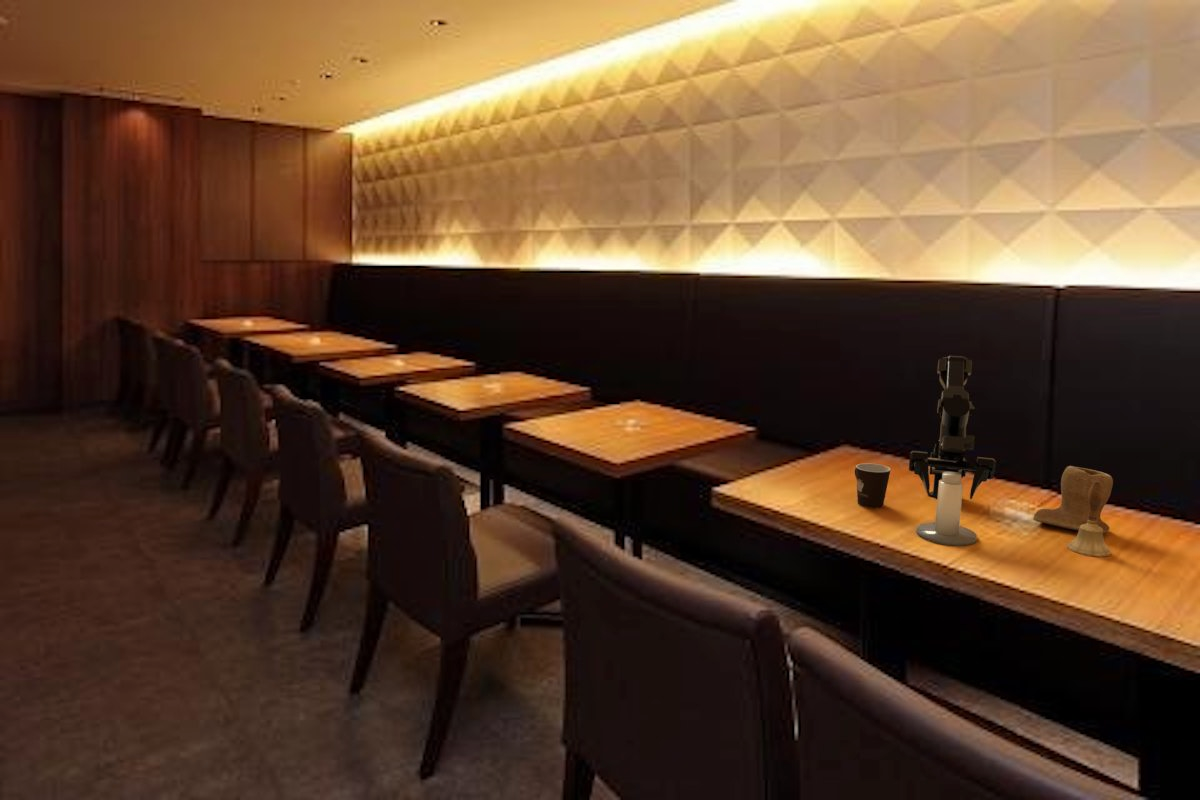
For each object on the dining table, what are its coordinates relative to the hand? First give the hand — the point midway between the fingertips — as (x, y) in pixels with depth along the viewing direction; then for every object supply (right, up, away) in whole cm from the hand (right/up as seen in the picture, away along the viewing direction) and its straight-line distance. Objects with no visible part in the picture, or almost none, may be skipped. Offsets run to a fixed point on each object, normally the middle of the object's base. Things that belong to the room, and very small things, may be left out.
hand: (949, 495), depth 184 cm
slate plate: (-1, -9, 0) cm, 9 cm away
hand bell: (+28, -11, -8) cm, 31 cm away
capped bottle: (-1, -8, 0) cm, 8 cm away
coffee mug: (-10, -5, +25) cm, 27 cm away
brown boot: (+33, -9, +7) cm, 35 cm away
